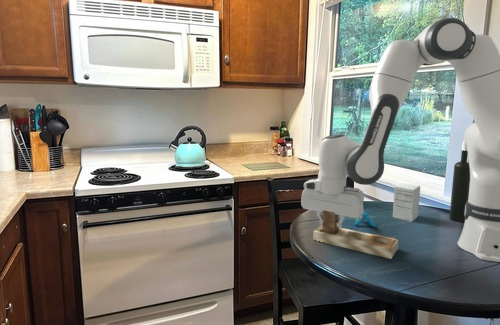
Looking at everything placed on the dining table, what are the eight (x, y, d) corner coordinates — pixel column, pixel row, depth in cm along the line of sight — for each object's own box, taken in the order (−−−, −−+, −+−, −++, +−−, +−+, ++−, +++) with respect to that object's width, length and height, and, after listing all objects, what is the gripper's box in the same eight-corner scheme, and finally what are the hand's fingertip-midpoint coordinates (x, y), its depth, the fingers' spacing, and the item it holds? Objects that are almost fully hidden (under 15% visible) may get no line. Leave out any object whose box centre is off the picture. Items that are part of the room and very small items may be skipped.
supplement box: (399, 213, 139) (401, 182, 137) (418, 217, 134) (421, 185, 132) (391, 217, 134) (393, 186, 132) (411, 222, 129) (414, 189, 126)
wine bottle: (463, 223, 127) (471, 142, 121) (446, 219, 131) (454, 141, 126) (469, 219, 130) (477, 141, 125) (452, 216, 135) (460, 139, 129)
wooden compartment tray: (397, 249, 106) (398, 238, 105) (391, 258, 99) (392, 248, 99) (323, 232, 120) (323, 223, 119) (313, 240, 113) (313, 230, 113)
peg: (338, 238, 115) (339, 209, 113) (333, 242, 111) (334, 212, 110) (326, 235, 117) (327, 207, 115) (322, 239, 114) (322, 210, 112)
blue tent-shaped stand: (379, 227, 119) (358, 206, 121) (366, 238, 120) (345, 217, 122) (375, 221, 130) (356, 201, 131) (363, 231, 131) (345, 211, 133)
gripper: (367, 187, 107) (365, 229, 110) (307, 179, 119) (307, 217, 122) (361, 191, 102) (358, 235, 105) (299, 182, 114) (298, 222, 117)
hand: (330, 225), depth 113 cm, fingers closed on peg, 4 cm apart
